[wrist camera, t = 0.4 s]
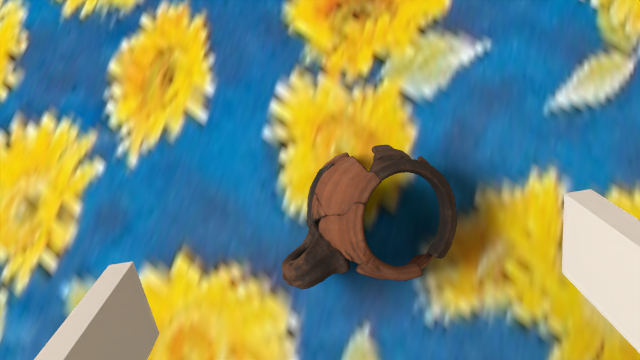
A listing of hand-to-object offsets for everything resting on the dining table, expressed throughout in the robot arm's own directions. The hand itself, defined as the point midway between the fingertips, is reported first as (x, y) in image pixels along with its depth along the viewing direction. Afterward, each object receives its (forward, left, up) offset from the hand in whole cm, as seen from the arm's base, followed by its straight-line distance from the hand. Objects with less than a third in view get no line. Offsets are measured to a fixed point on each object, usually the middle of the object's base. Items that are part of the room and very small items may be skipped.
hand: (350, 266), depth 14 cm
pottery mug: (+2, +1, -19) cm, 19 cm away
